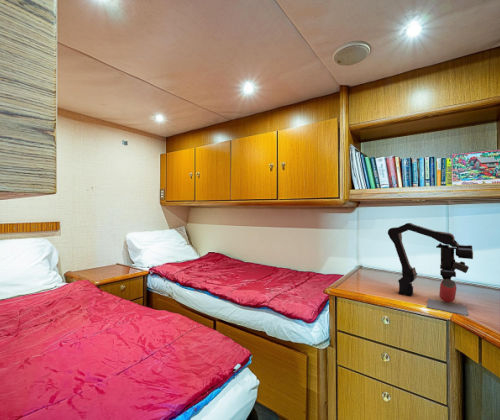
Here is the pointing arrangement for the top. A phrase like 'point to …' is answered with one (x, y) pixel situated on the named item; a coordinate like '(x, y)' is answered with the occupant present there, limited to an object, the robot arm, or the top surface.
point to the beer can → (447, 290)
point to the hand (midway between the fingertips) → (447, 285)
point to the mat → (447, 307)
